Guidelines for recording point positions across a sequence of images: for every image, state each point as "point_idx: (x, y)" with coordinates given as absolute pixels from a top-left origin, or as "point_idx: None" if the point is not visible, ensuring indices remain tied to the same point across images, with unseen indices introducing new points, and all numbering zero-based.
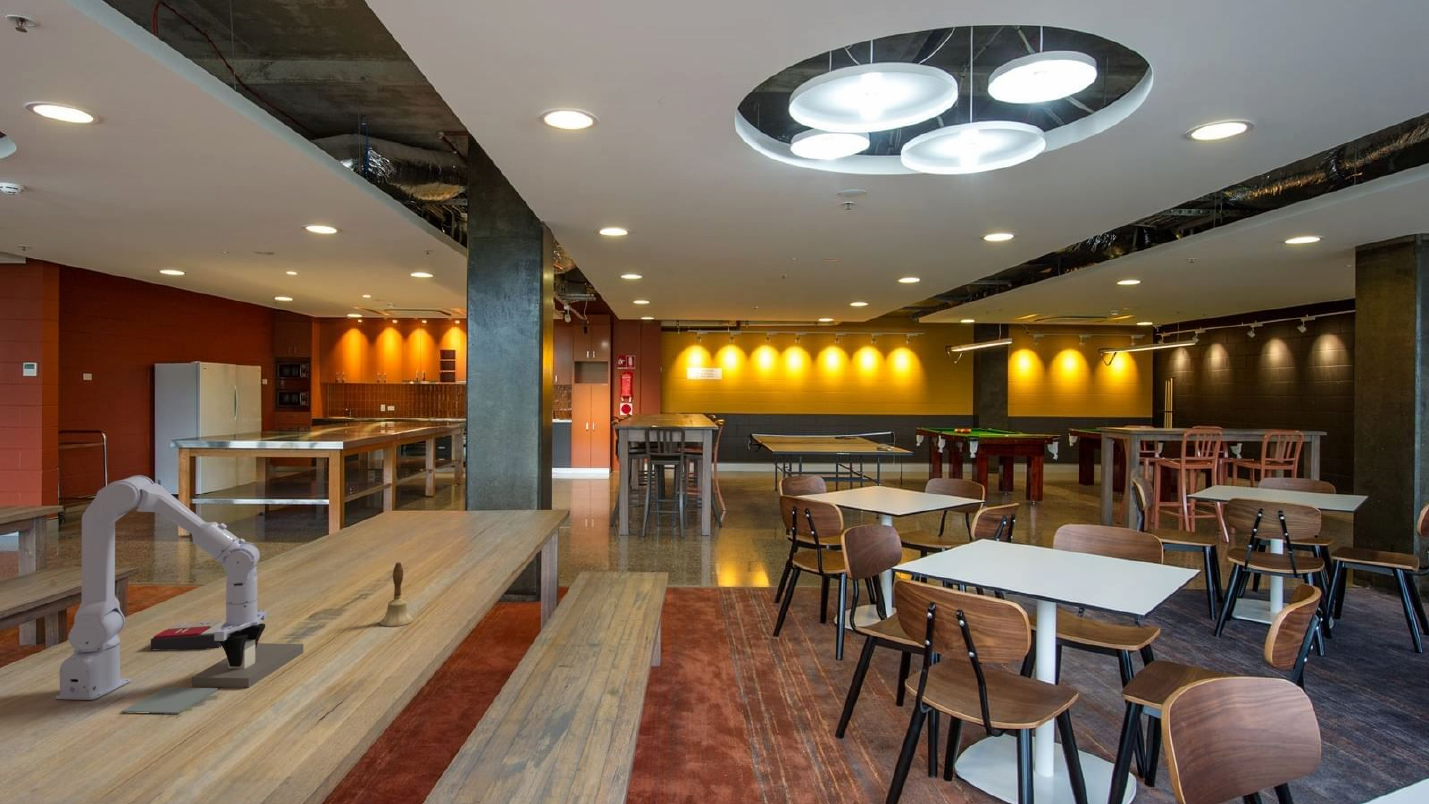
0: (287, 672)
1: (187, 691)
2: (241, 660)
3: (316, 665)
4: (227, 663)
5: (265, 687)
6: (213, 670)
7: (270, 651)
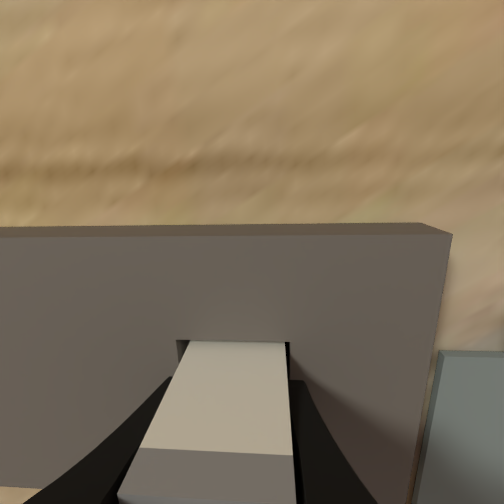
0: (195, 139)
1: (466, 451)
2: (298, 399)
3: (64, 14)
4: None
5: (420, 129)
6: None
7: (30, 355)
